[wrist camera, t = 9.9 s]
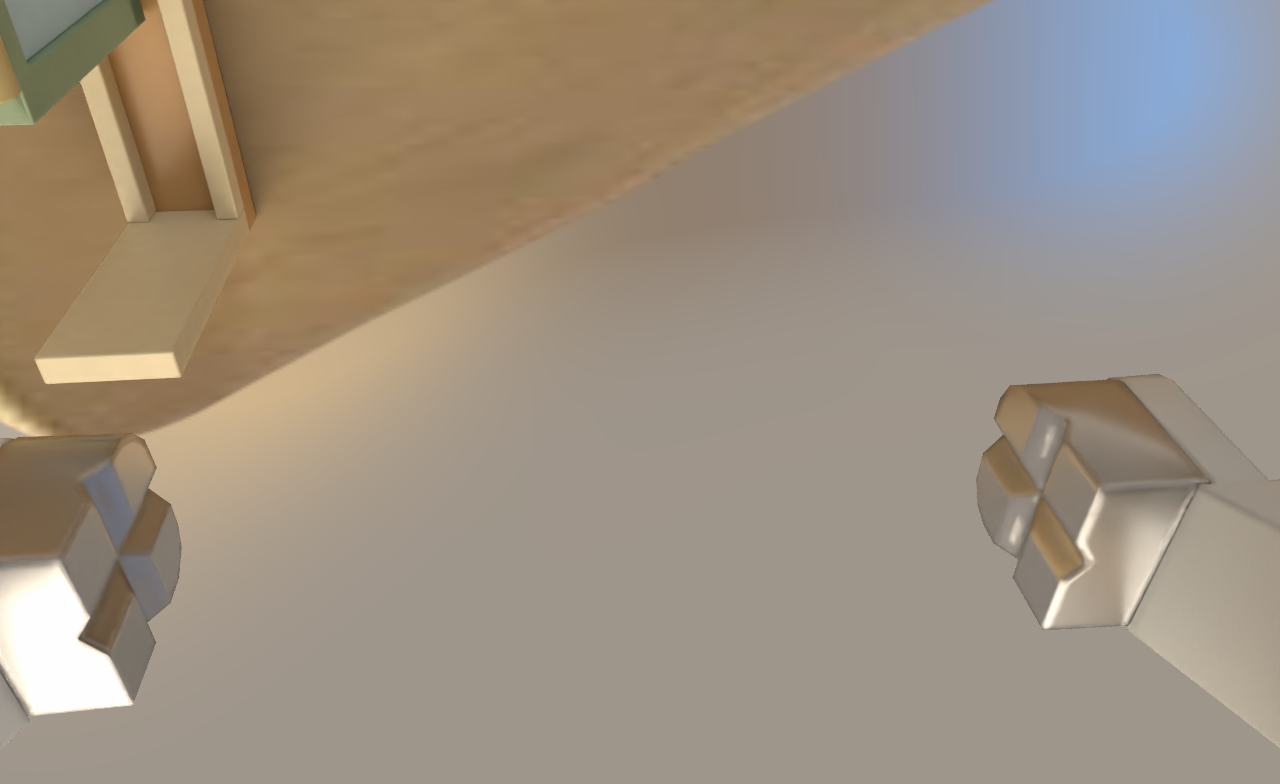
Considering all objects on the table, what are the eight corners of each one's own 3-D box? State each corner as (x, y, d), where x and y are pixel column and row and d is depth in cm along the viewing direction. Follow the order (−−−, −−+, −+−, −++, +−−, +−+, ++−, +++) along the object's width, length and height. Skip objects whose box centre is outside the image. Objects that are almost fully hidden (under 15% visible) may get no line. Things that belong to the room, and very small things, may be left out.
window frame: (152, 221, 38) (44, 385, 29) (-33, -359, 27) (-295, -378, 18) (257, 217, 38) (181, 378, 29) (116, -356, 27) (-70, -373, 18)
